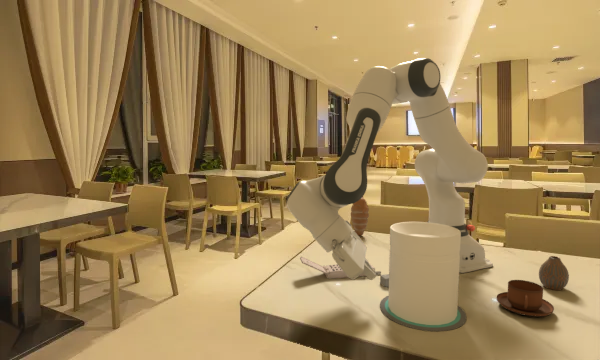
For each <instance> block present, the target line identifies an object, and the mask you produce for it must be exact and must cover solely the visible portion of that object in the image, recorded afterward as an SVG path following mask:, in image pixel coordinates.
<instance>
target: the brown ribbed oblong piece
mask: <svg viewBox="0 0 600 360" xmlns="http://www.w3.org/2000/svg"><path fill="white" fill-rule="evenodd" d="M369 210H370V209H369V205H368V201H367V200H366V199H365V198H364V196H363V197H362V198H361V199H360V200H359V201H357V202H355V203H353V204H352V205H351V208H350V211H351V212H350V217H351V222H352V229H353V230H354V231H355V233H356V234H357V235H358V236H359V237H361V236H363V235H364V233H365V230H366V229H367V226H368V220H369V219H368V218H369V216H370V213H369Z"/></svg>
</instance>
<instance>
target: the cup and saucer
mask: <svg viewBox="0 0 600 360" xmlns="http://www.w3.org/2000/svg"><path fill="white" fill-rule="evenodd" d="M543 295H544V287H543V286H542V285H541V284H540V285H539V284H538V283H536V282H534V281H529V280H524V279H523V280H522V279H511V280H509V281H508V282H507V291H504V292H499V293H498V294H497V295H496V301H497V302H498V303H499V304H500V305H501V307H503V308H504V309H506V310H508V311H511V312H513V313H516V314H519V315H523V316H527V317H528V316H529V317H538V318H539V317H547V316H548V315H551V314H552V313H554V310H555V306H554V305H553V304H552V303H551V302H549V301H548V300H546V299H544V298H543V297H544V296H543Z"/></svg>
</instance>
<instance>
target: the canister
mask: <svg viewBox="0 0 600 360" xmlns="http://www.w3.org/2000/svg"><path fill="white" fill-rule="evenodd" d="M389 229H390V231H389V258H388V259H389V262H388V263H389V264H388V274H389V287H388V296H389V298H388V307H389V309H390V310H391V312H392V313H394V314H395V315H396V316H398V317H400V318H402V319H404V320H407V321H410V322H414V323H417V324H425V325H442V324H447V323H450V322H452V321H454V320H455V318H456V317H457V307H458V306H459V305H458V303H459V302H458V301H459V281H460V272H459V262H460V255H459V252H460V240H461V232H460V230H458V229H456V228H454V227H451V226H448V225H443V224H437V223H429V222H428V221H425V222H424V221H402V222H396V223H393V224H392V225H390V227H389Z"/></svg>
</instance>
